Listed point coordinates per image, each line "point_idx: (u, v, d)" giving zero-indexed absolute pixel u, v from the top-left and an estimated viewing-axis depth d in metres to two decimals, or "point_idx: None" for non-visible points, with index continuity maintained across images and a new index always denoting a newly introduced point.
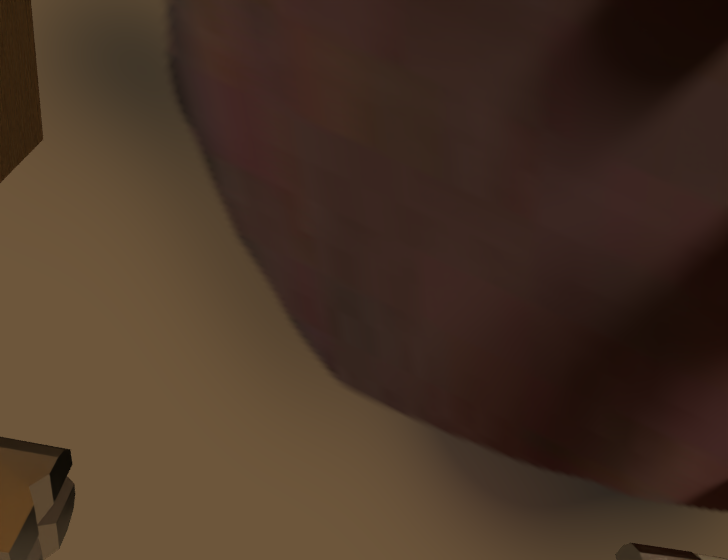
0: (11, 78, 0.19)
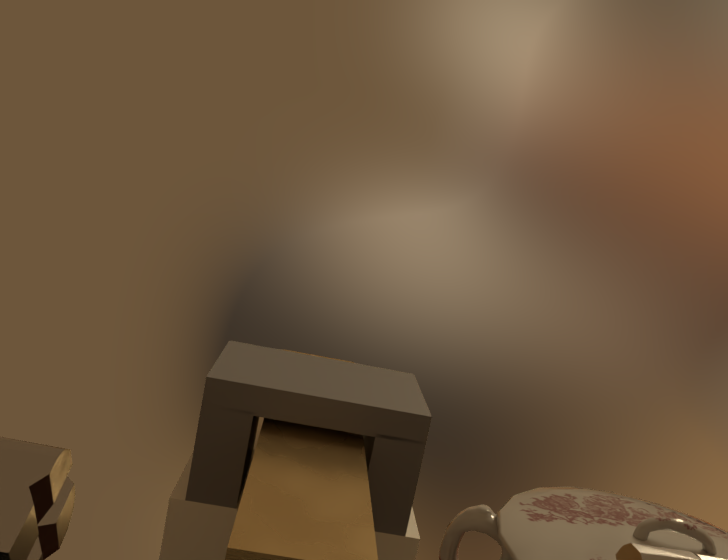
0: None
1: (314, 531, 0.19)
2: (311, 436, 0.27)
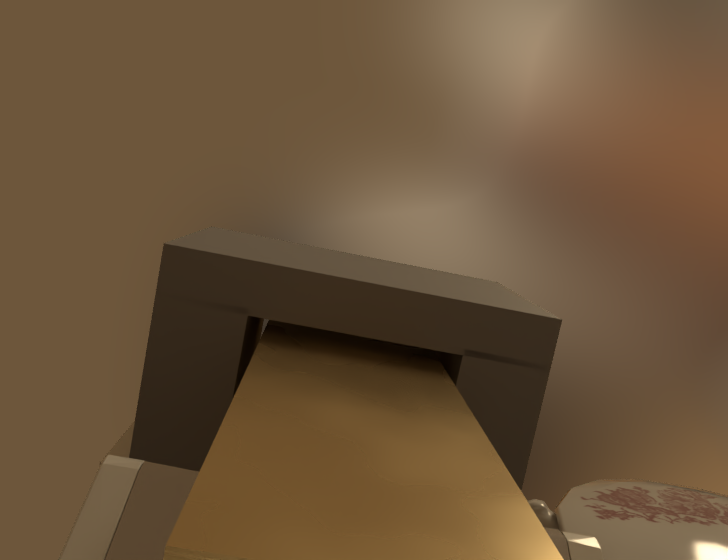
0: None
1: (395, 506, 0.08)
2: (351, 351, 0.15)
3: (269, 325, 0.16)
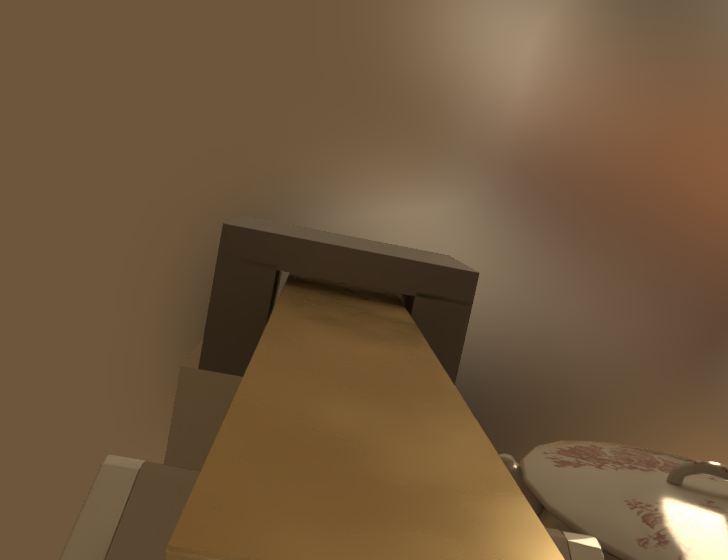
0: None
1: (396, 506, 0.08)
2: (351, 351, 0.15)
3: (268, 326, 0.16)
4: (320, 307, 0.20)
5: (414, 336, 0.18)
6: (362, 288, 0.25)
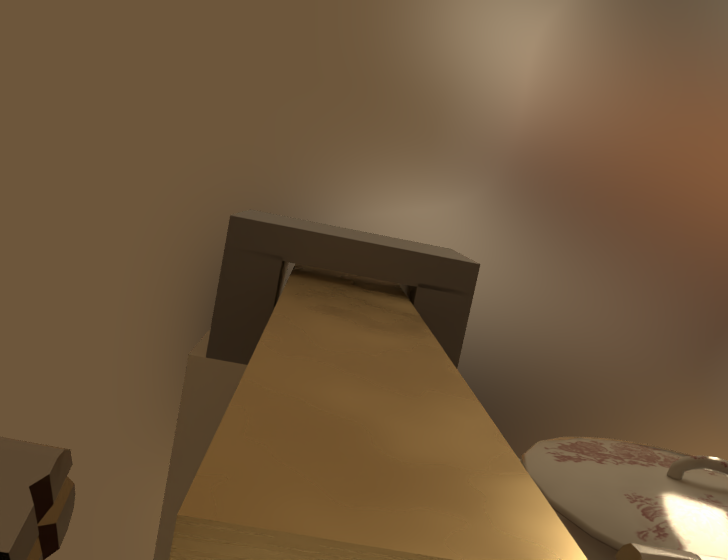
0: None
1: (402, 483, 0.08)
2: (356, 340, 0.15)
3: (274, 315, 0.16)
4: (325, 298, 0.20)
5: (419, 327, 0.18)
6: (366, 281, 0.25)
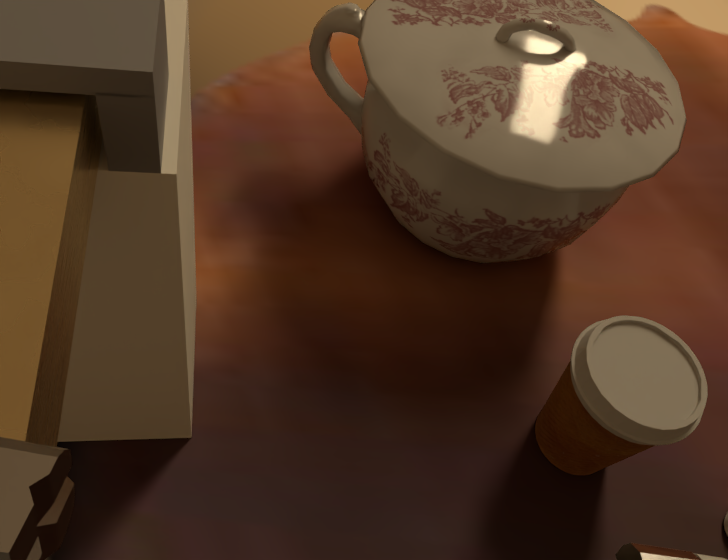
0: None
1: None
2: None
3: None
4: None
5: (50, 241, 0.21)
6: None
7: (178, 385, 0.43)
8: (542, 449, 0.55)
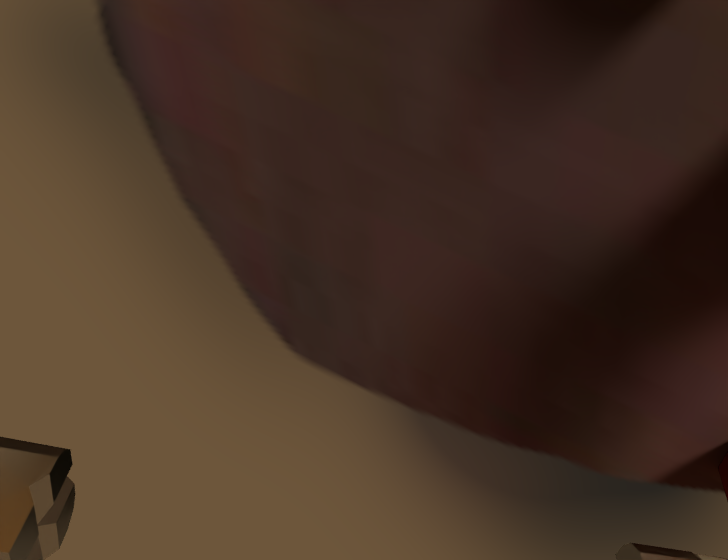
0: None
1: None
2: None
3: None
4: None
5: None
6: None
7: None
8: None
